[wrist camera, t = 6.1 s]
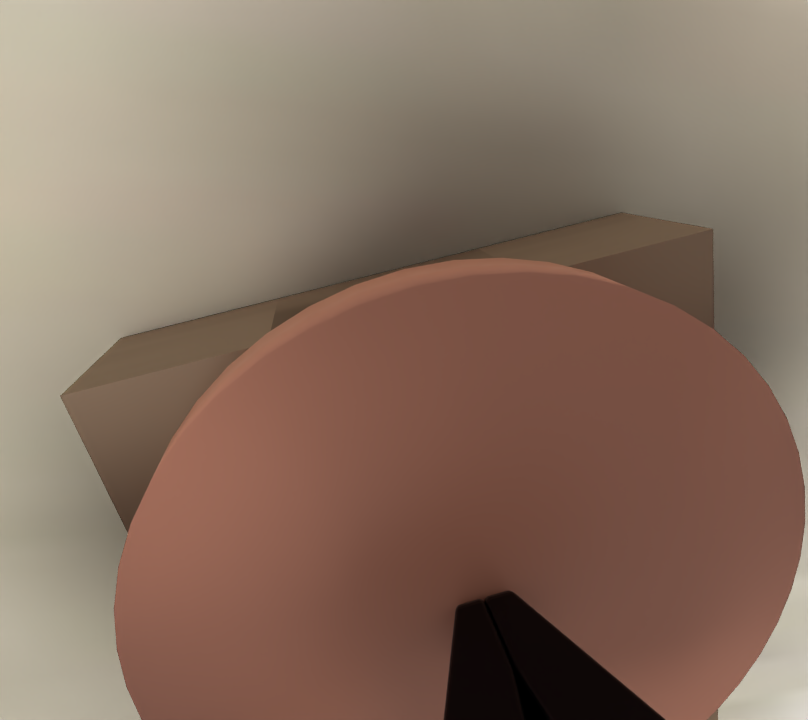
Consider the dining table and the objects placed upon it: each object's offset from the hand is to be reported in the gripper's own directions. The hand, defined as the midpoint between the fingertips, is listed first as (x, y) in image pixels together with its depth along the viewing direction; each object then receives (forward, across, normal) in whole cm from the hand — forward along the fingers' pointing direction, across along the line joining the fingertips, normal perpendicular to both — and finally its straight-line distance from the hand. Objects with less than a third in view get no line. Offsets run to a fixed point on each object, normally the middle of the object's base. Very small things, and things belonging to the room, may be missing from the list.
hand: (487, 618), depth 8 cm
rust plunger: (+4, 0, 0) cm, 4 cm away
